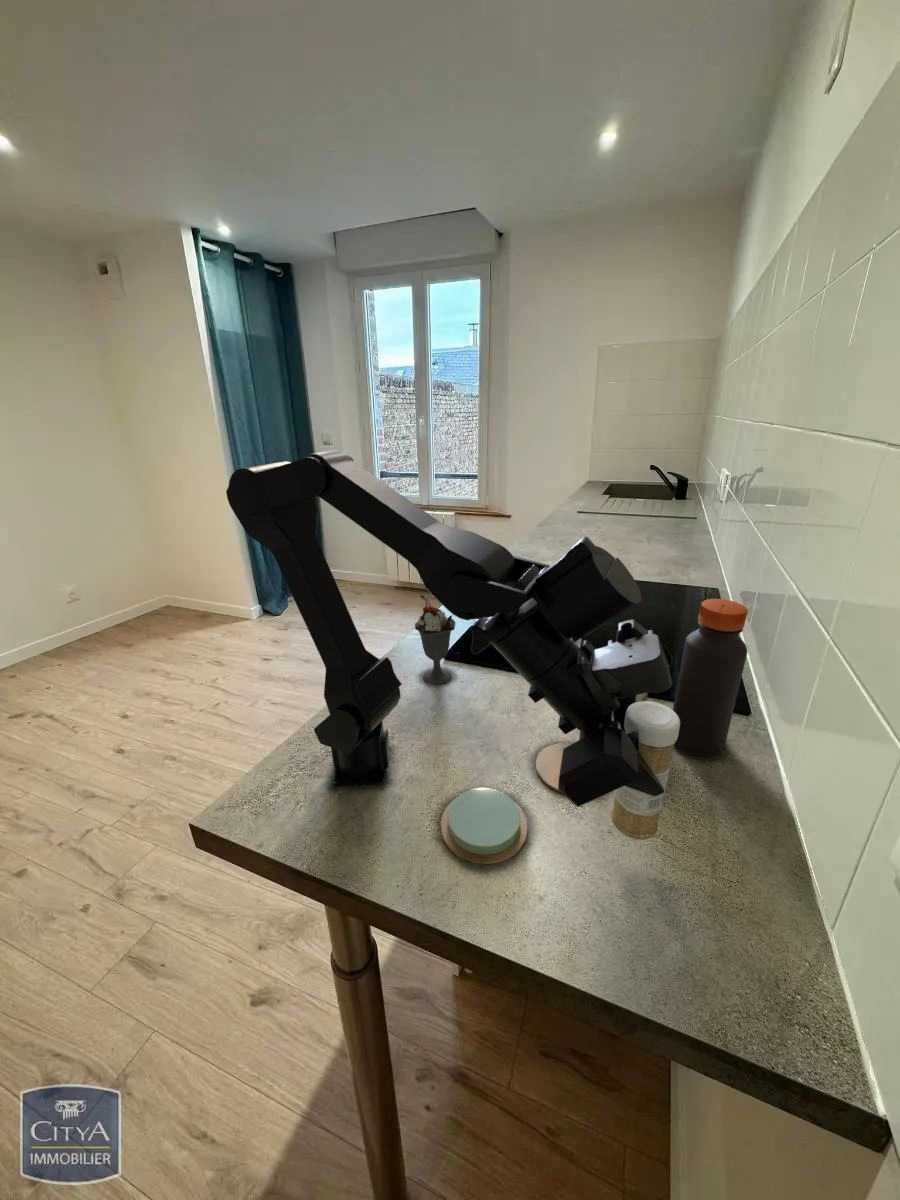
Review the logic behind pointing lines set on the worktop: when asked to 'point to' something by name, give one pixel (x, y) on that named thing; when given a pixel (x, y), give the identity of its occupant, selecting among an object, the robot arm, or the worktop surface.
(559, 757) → the coaster
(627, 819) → the sprinkles bottle
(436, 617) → the sundae
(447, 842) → the saucer coaster
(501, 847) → the green flat disc
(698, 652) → the vinegar
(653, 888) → the worktop surface
